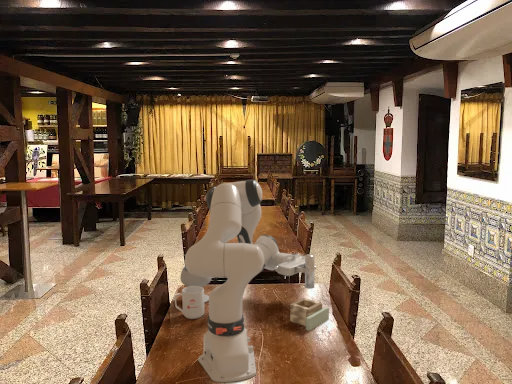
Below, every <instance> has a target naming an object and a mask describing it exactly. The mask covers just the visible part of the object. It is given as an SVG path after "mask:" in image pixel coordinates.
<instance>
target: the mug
mask: <svg viewBox="0 0 512 384" xmlns="http://www.w3.org/2000/svg"><path fill="white" fill-rule="evenodd" d="M204 294H205V288H204V286H203V287H200V286H189V287H188V286H185V287H184V288H182V290H181V292H178V293H174V306H175V309H177V310H179V311H180V312H182V315H183V316H184V317H185V318H186V319H190V320H193V319H194V320H196V319H200V318H202V317H203V316H204V314H205V303H204ZM177 296H181V297H182V299H181V300H182V302H181V303H182V308H181V307H180V306H178V305H177Z"/></svg>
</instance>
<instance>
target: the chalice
mask: <svg viewBox="0 0 512 384" xmlns="http://www.w3.org/2000/svg"><path fill="white" fill-rule="evenodd" d="M212 278H213V277H200V276H195V275H191V274H190V273H189V272H188V270H187V268H186V266H183V268H182V270H181V273H180V278H179V279H180V282H181V283H182V285H184V286H185V287H189V286H200V287H203V288H204V287H205V286H207V285H209V283H210V282H211V281H212V280H213V279H212ZM207 302H209V295H208V294H205V293H204V304H205V303H207Z"/></svg>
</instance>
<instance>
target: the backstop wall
mask: <svg viewBox="0 0 512 384" xmlns="http://www.w3.org/2000/svg"><path fill="white" fill-rule="evenodd" d="M328 320H330V308H329V307H328V306H325V307H322V309H321V310H319V311H317V312H315V313H314V314H312V315H310V316H308V317H306V326H305V330H306V331H308V332H310V331H311V330H313V329H315V328H316V327H318V326H319V325H322V324H323V323H325V322H327V321H328Z"/></svg>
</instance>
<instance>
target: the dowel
mask: <svg viewBox="0 0 512 384" xmlns="http://www.w3.org/2000/svg"><path fill="white" fill-rule="evenodd" d="M304 256H305V268H308V269H309V272H308V273H304V288H305V289H310V290H311V289H314V288H315V270H314V268H315V266H316V265H315V261H316V260H315V254H311V253H310V254H309V253H308V254H305V255H304Z"/></svg>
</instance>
